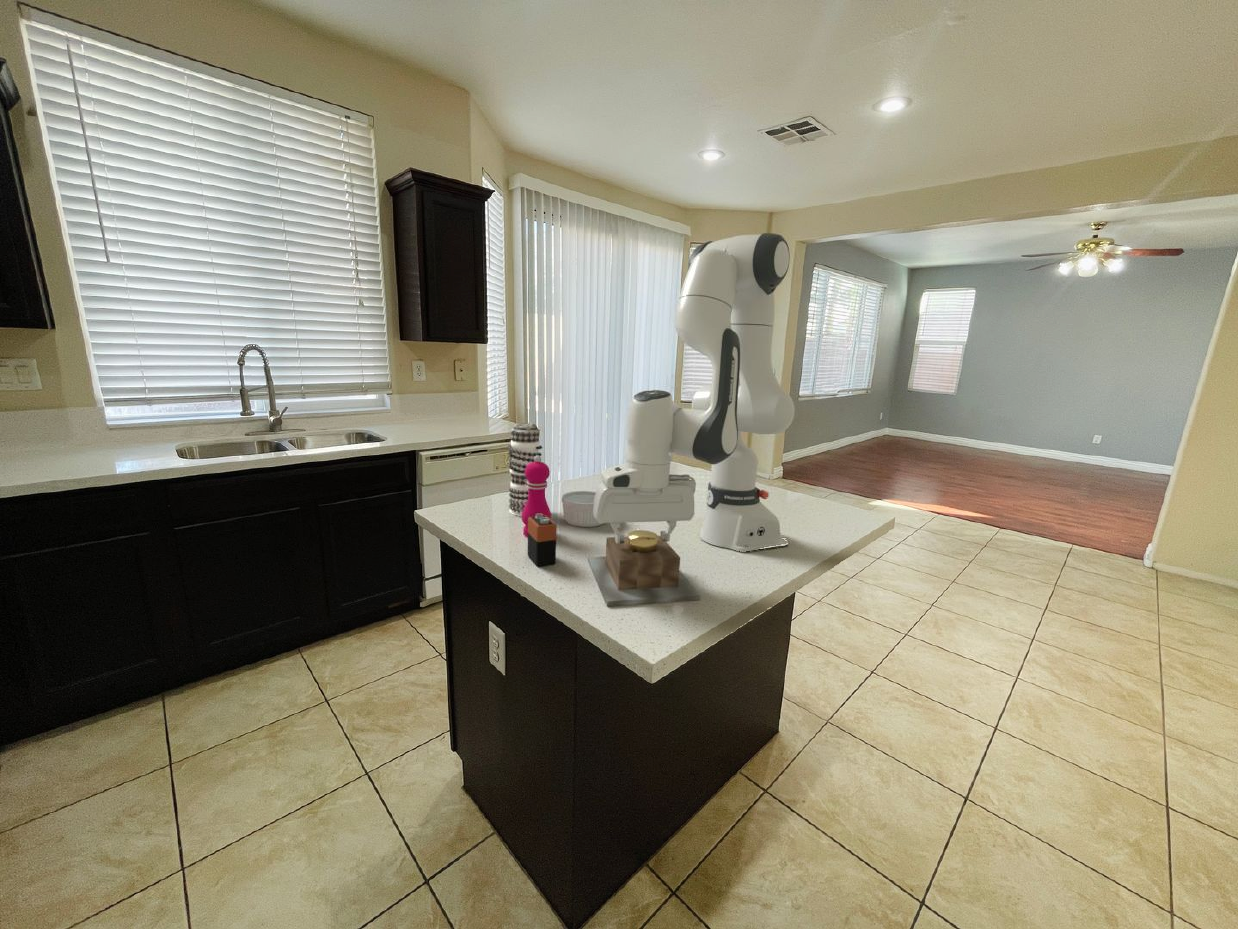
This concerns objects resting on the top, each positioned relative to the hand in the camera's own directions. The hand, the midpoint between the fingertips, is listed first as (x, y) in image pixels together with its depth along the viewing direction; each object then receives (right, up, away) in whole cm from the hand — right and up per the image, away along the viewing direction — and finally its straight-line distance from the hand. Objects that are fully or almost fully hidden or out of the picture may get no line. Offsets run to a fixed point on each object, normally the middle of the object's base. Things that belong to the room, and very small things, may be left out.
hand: (642, 541), depth 98 cm
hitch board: (0, -8, +2) cm, 8 cm away
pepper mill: (-25, -2, +24) cm, 35 cm away
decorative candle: (-32, +2, +40) cm, 51 cm away
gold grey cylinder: (0, -7, +1) cm, 7 cm away
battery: (-22, -6, +9) cm, 24 cm away
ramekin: (-14, 0, +36) cm, 38 cm away
